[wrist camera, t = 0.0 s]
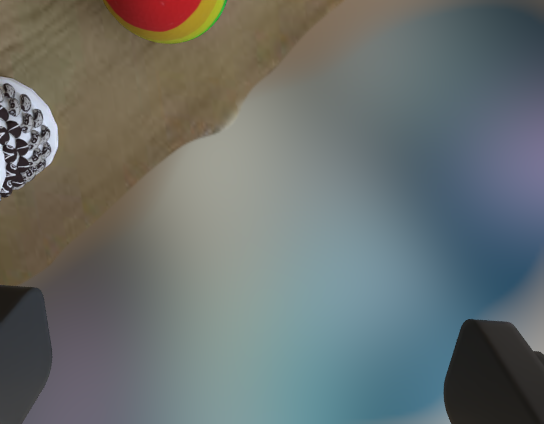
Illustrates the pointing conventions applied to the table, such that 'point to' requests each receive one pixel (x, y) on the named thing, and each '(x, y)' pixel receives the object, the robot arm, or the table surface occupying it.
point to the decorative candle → (23, 135)
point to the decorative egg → (166, 18)
